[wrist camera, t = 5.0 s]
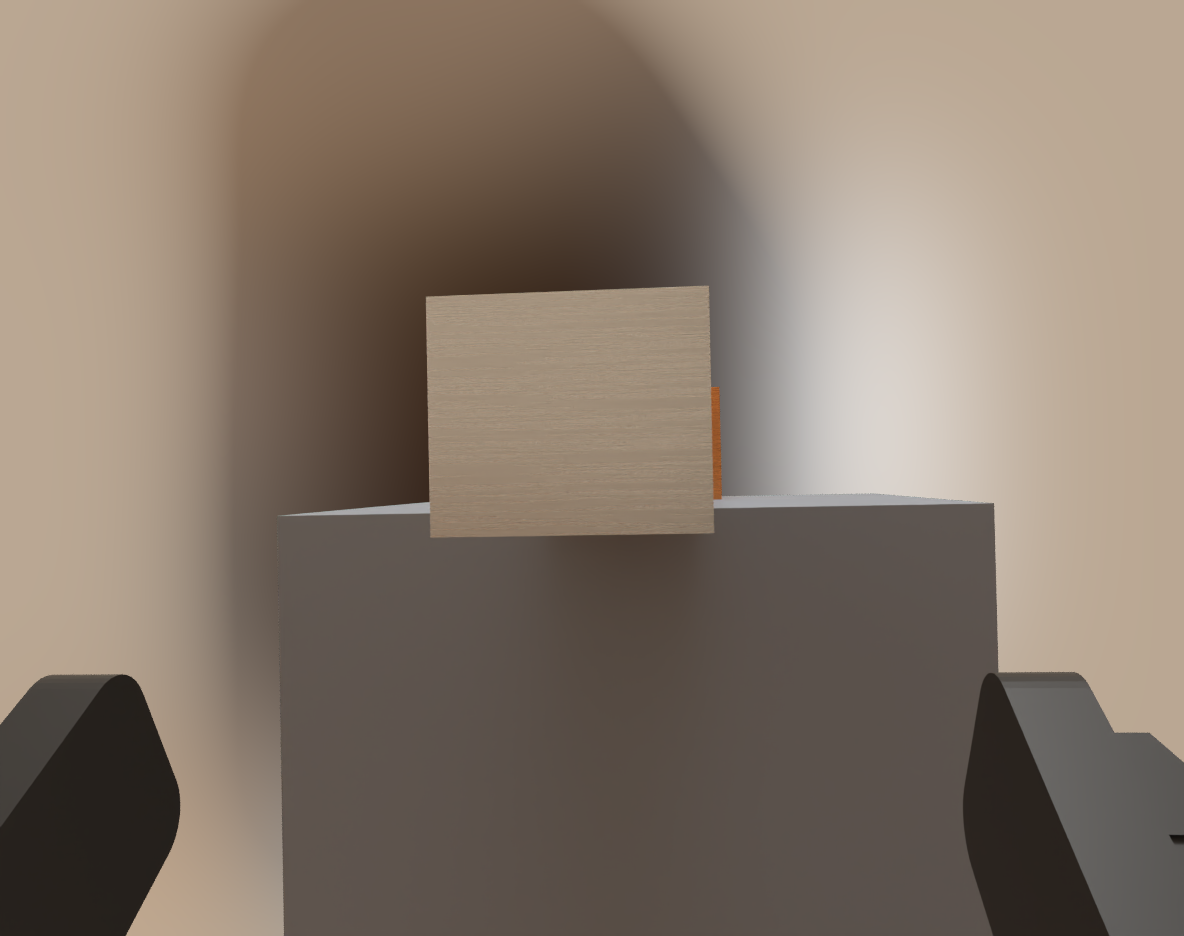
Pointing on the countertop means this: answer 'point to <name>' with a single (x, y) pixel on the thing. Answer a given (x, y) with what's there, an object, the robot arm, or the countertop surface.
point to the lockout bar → (572, 413)
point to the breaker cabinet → (635, 723)
